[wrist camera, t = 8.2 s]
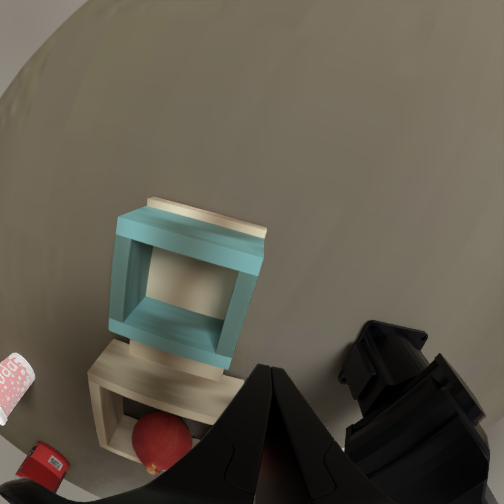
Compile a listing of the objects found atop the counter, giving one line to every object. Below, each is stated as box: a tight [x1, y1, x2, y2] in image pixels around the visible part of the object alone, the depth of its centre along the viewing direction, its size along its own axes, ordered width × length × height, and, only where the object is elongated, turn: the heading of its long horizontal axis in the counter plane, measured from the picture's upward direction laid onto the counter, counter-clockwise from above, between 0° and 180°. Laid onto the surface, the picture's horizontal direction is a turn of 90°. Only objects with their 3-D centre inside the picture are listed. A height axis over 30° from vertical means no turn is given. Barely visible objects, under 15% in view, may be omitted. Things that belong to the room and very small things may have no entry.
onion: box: [132, 412, 193, 475], centre depth 21 cm, size 6×6×8 cm
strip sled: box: [87, 197, 267, 471], centre depth 20 cm, size 12×25×5 cm, turn 164°
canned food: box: [14, 442, 69, 493], centre depth 28 cm, size 8×8×11 cm
